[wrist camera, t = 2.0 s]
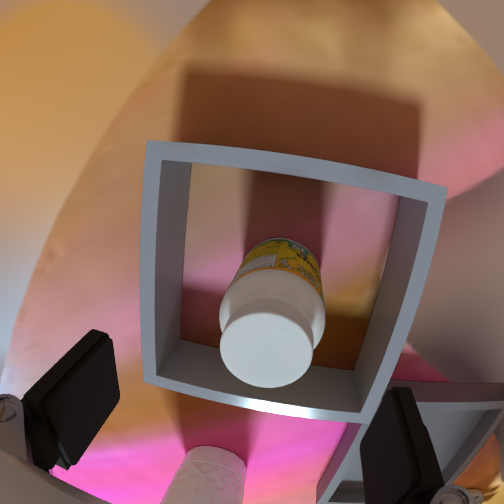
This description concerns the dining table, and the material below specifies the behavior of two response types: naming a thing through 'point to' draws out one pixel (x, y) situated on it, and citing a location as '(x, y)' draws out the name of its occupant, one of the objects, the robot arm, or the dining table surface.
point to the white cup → (208, 478)
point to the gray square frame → (209, 358)
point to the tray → (439, 427)
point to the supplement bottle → (272, 314)
